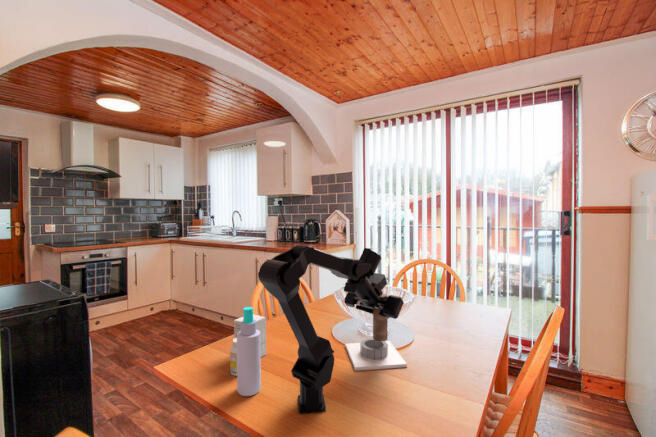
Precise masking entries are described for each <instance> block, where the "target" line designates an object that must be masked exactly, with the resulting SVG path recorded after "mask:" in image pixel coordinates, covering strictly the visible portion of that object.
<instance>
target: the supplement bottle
mask: <svg viewBox="0 0 656 437" xmlns="http://www.w3.org/2000/svg"><path fill="white" fill-rule="evenodd" d="M229 367H230V368H229V371H230V374H231V375H232V376H236V377H237V338H233V339H232V346H231V348H230V350H229Z"/></svg>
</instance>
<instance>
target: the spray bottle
mask: <svg viewBox="0 0 656 437" xmlns="http://www.w3.org/2000/svg"><path fill="white" fill-rule="evenodd" d="M242 311H243V316H242V317H243V321H241V331H239V332H238V333H237V376H236V379H237V380H236V382H237V383H236V385H237V386H236V389H237V390H236V391H237V394H239V395H240V396H243V397H250V396H251V397H252V396H254V395H257V394H258V393H259V392H260V390H261V388H262V384H261V382H262V379H261V378H262V376H261V375H262V374H261V372H262V371H261V369H262V366H261V364H262V363H261V362H262V361H261V358H262V357H261V352H260V331H259V330H257V329H256V320H254V319H253V314H254V307H252V306H245V307H243V310H242Z"/></svg>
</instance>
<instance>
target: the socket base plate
mask: <svg viewBox="0 0 656 437" xmlns="http://www.w3.org/2000/svg"><path fill="white" fill-rule="evenodd" d="M345 349H346V352H347V353H348V356H349V358H350V359H349V360H350V361H351V365H352V366H353V368H354V371H370V370H371V371H372V370H382V369H383V370H384V369H399V368H400V369H401V368H408V363H407V362H406V361H405V359H404V358H403V357H402V355H401V354H400V353H399V352H398V350H397V349H396V348H395V346H394V345H393V343H392V342H391V340H386V341H376V340H374V339H373V337H371V338H365V339H362V340H361V342H352V343H351V342H350V343H345Z"/></svg>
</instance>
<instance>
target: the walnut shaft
mask: <svg viewBox="0 0 656 437" xmlns="http://www.w3.org/2000/svg"><path fill="white" fill-rule="evenodd" d="M385 296H386V297H388V296H389V295H388V294H387V293H383V294H382V296H380V297H381V298H383V297H385ZM380 311H381V307H379V308H374V309H373V314H372V338H373V339H374V340H376V341H388V329H389V328H388V324H389V323H388V318H385V317H383V316H380V315H379V313H380Z"/></svg>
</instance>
